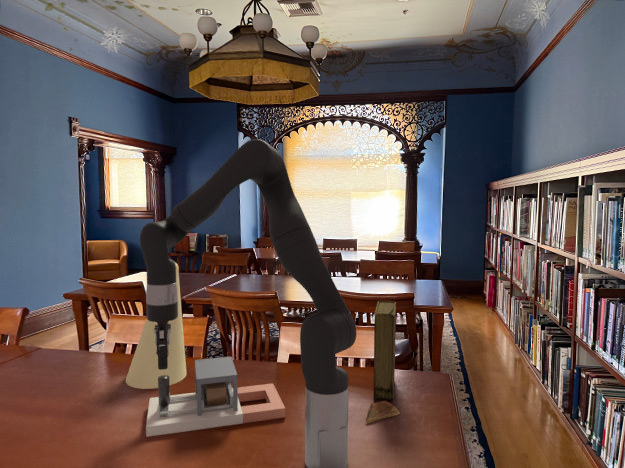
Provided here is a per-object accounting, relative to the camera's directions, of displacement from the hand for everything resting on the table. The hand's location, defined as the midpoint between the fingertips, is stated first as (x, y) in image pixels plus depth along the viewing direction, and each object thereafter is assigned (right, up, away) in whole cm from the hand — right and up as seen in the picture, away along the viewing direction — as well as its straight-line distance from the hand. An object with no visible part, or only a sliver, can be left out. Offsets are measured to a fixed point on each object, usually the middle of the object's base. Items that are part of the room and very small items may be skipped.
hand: (163, 362), depth 116 cm
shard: (+57, -15, +3) cm, 59 cm away
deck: (+12, -15, +5) cm, 20 cm away
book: (+59, -14, +19) cm, 64 cm away
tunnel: (+12, -12, +5) cm, 18 cm away
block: (+12, -12, +5) cm, 18 cm away
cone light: (-11, -12, +31) cm, 35 cm away
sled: (+8, -12, +3) cm, 14 cm away
